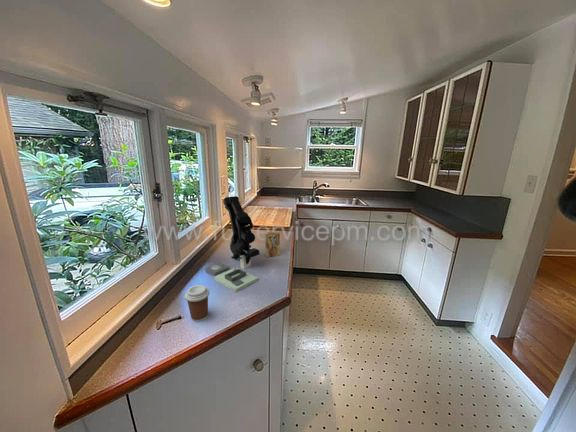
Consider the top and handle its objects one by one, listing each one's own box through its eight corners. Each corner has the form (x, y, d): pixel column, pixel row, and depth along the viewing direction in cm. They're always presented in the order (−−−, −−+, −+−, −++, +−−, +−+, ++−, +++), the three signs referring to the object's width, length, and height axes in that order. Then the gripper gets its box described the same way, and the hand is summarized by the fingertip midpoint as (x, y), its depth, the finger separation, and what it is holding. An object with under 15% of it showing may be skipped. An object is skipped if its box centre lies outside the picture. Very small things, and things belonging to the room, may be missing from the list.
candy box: (278, 253, 156) (277, 230, 153) (280, 255, 153) (279, 232, 149) (264, 255, 154) (264, 232, 150) (266, 257, 150) (265, 234, 146)
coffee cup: (214, 318, 95) (211, 291, 92) (190, 327, 90) (186, 298, 87) (208, 306, 102) (205, 280, 99) (185, 313, 98) (182, 287, 95)
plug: (239, 270, 133) (238, 259, 132) (236, 269, 135) (235, 257, 133) (251, 265, 140) (250, 254, 138) (248, 263, 142) (247, 252, 140)
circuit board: (214, 279, 124) (213, 273, 123) (236, 269, 135) (235, 263, 134) (235, 291, 113) (235, 285, 112) (257, 280, 123) (257, 274, 122)
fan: (205, 271, 132) (205, 267, 131) (219, 266, 139) (219, 261, 138) (215, 277, 126) (214, 272, 126) (229, 271, 133) (228, 266, 132)
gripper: (221, 237, 134) (223, 263, 138) (243, 245, 122) (244, 273, 126) (238, 232, 142) (239, 257, 146) (259, 239, 130) (260, 266, 134)
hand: (245, 263), depth 138 cm, fingers closed on plug, 3 cm apart
